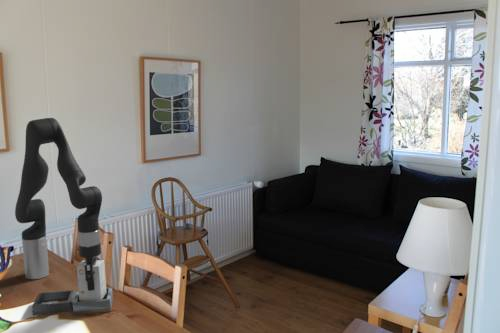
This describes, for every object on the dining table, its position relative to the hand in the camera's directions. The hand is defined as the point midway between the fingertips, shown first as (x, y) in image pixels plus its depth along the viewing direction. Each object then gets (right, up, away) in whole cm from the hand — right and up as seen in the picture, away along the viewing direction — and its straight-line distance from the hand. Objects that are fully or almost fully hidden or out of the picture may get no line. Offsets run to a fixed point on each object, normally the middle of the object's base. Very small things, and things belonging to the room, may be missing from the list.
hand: (92, 285), depth 162 cm
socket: (-14, -8, +1) cm, 16 cm away
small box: (0, -5, +1) cm, 5 cm away
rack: (0, -8, +1) cm, 8 cm away
